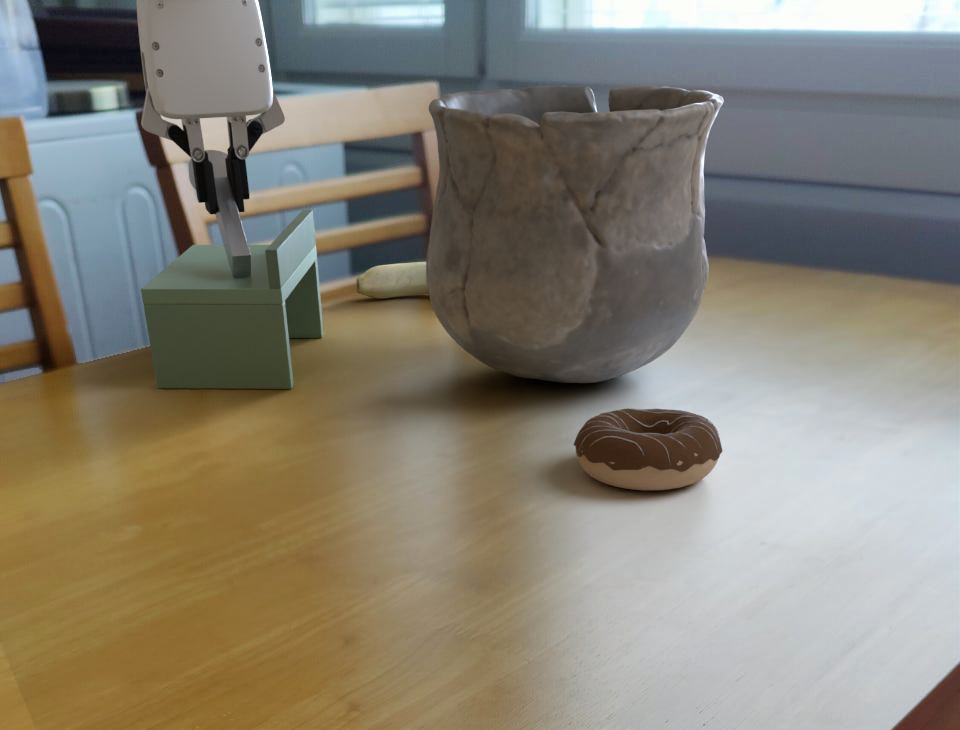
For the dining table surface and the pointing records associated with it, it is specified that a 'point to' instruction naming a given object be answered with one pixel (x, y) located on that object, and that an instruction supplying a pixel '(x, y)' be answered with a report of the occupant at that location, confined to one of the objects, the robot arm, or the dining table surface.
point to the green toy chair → (235, 313)
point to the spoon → (228, 217)
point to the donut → (648, 448)
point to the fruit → (393, 280)
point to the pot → (569, 226)
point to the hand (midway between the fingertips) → (224, 209)
